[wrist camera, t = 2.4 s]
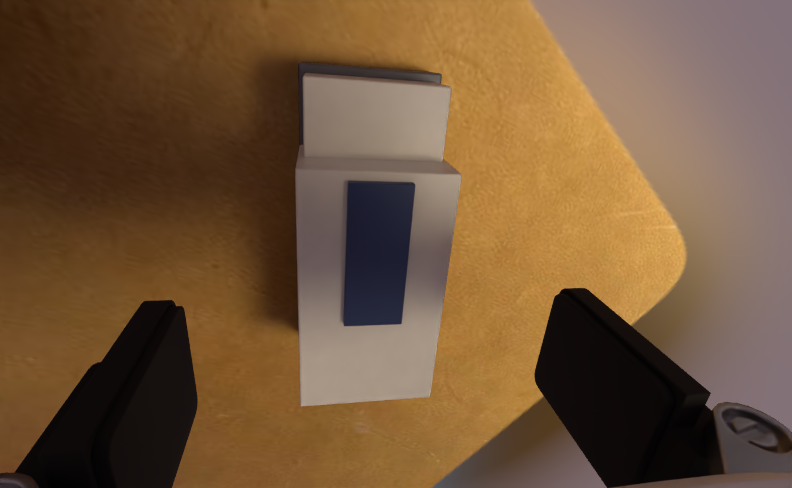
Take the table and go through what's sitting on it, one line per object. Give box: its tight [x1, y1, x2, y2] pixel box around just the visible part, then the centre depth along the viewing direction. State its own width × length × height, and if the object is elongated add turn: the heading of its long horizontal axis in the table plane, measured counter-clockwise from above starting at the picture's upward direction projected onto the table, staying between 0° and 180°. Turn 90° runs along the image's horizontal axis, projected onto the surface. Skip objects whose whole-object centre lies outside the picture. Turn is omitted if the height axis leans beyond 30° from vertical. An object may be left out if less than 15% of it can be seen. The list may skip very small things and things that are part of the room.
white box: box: [295, 62, 462, 406], centre depth 16 cm, size 12×5×5 cm, turn 175°
